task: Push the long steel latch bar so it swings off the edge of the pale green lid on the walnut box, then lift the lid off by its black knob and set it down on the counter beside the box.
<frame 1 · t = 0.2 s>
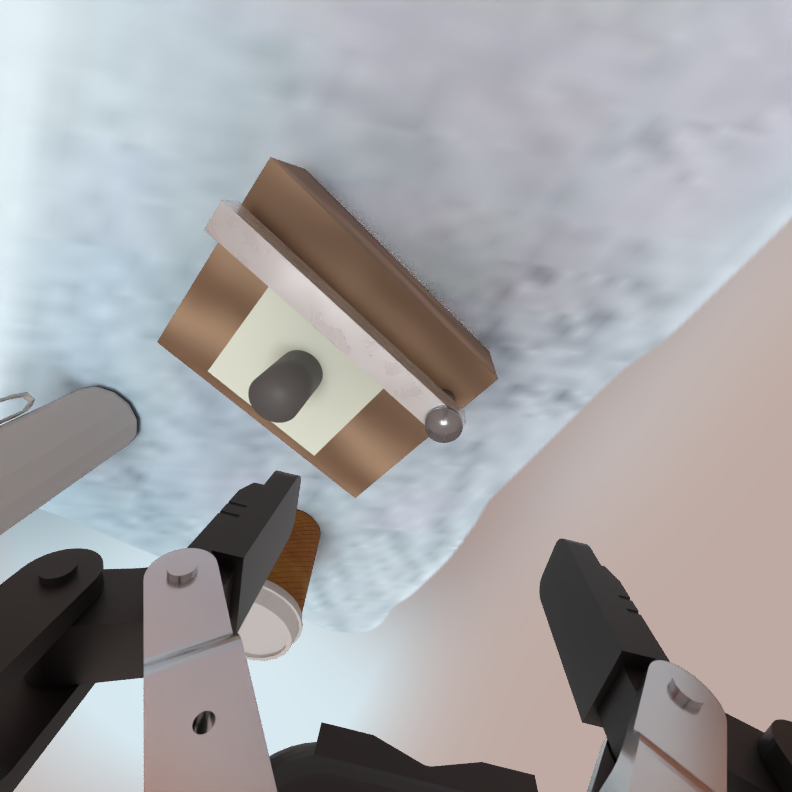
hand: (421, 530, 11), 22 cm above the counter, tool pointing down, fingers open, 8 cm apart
latch bar: (347, 331, 23), point 9 cm above the counter, hinge at 0.0°
water bottle: (105, 406, 40), on the counter
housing: (341, 336, 33), on the counter
lid: (307, 364, 28), point 6 cm above the counter, touching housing
disposable coffee cup: (295, 527, 44), on the counter
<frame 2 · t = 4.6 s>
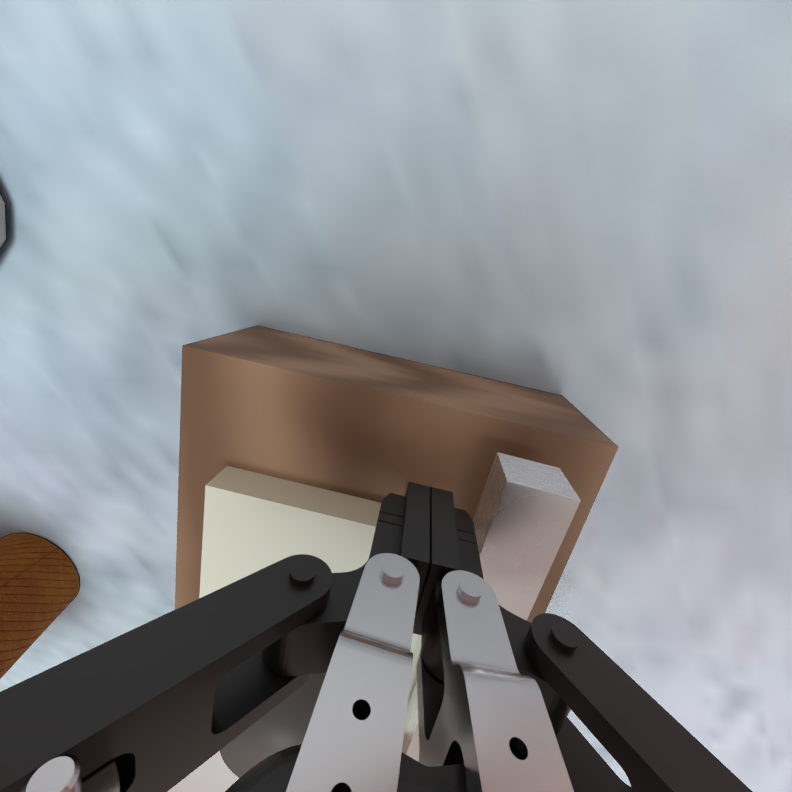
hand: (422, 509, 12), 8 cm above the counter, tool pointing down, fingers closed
latch bar: (447, 703, 14), point 9 cm above the counter, hinge at -1.0°, touching gripper
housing: (371, 521, 22), on the counter
lid: (329, 591, 16), point 6 cm above the counter, touching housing
disposable coffee cup: (40, 568, 26), on the counter
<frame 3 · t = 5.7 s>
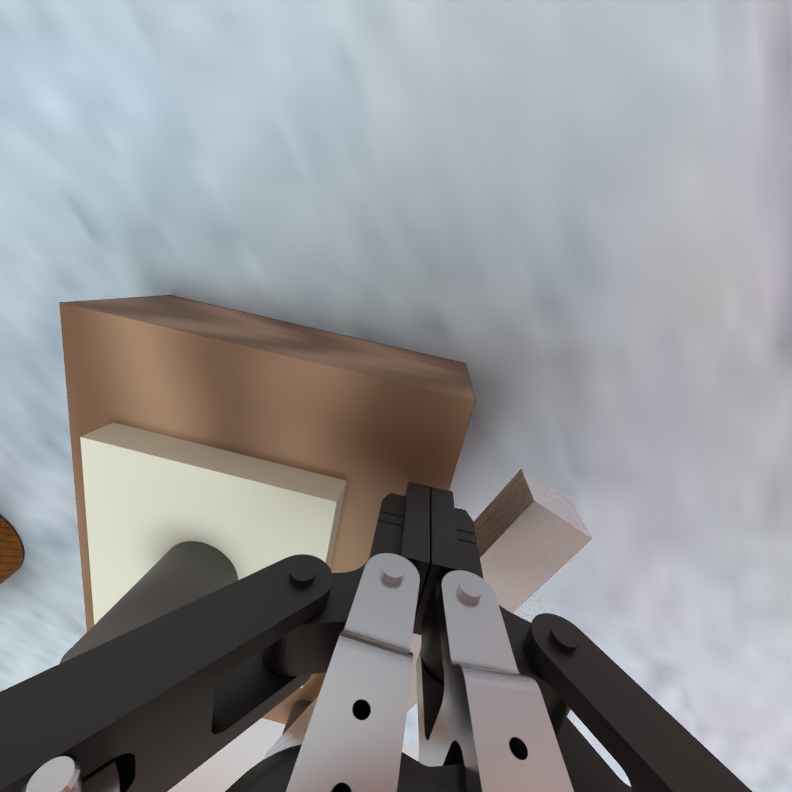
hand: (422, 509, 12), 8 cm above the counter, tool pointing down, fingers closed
latch bar: (383, 682, 14), point 9 cm above the counter, hinge at -21.1°, touching gripper
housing: (292, 491, 23), on the counter
lid: (221, 548, 17), point 6 cm above the counter, touching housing
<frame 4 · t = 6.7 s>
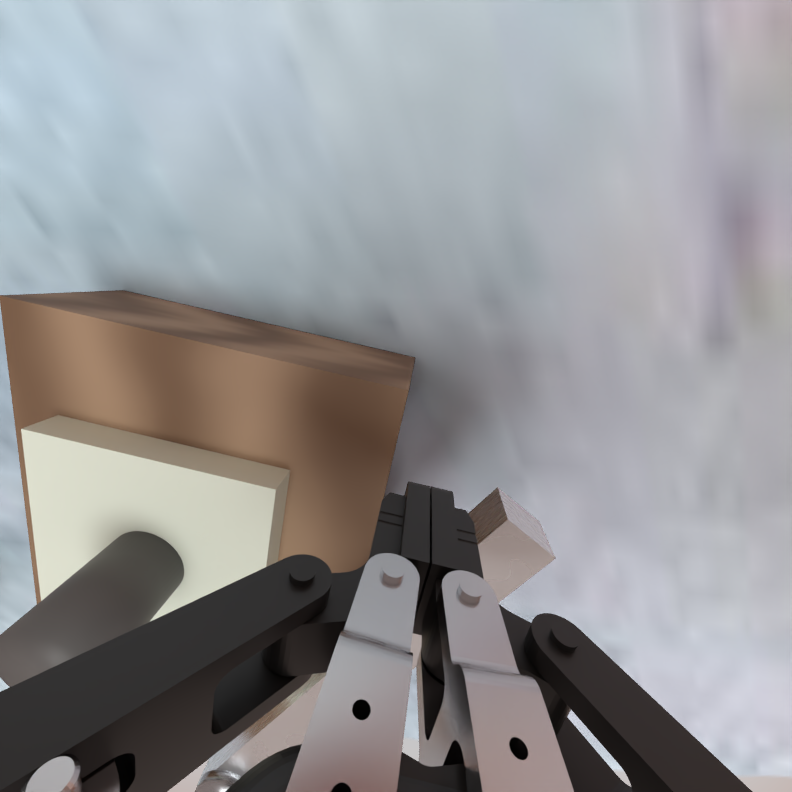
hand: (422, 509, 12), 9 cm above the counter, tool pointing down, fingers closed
latch bar: (345, 676, 15), point 9 cm above the counter, hinge at -27.8°, touching gripper
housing: (251, 484, 23), on the counter
lid: (171, 539, 17), point 6 cm above the counter, touching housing
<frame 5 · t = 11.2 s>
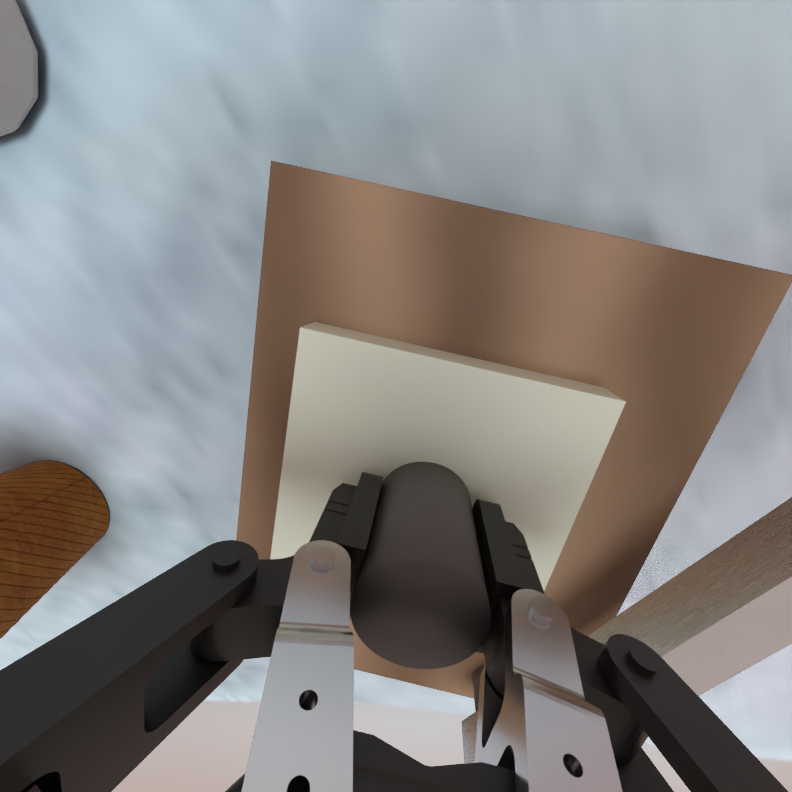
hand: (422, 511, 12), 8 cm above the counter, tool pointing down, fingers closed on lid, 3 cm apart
latch bar: (694, 639, 12), point 9 cm above the counter, hinge at -27.8°
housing: (441, 435, 20), on the counter
lid: (424, 481, 14), point 6 cm above the counter, touching gripper, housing
disposable coffee cup: (65, 502, 24), on the counter
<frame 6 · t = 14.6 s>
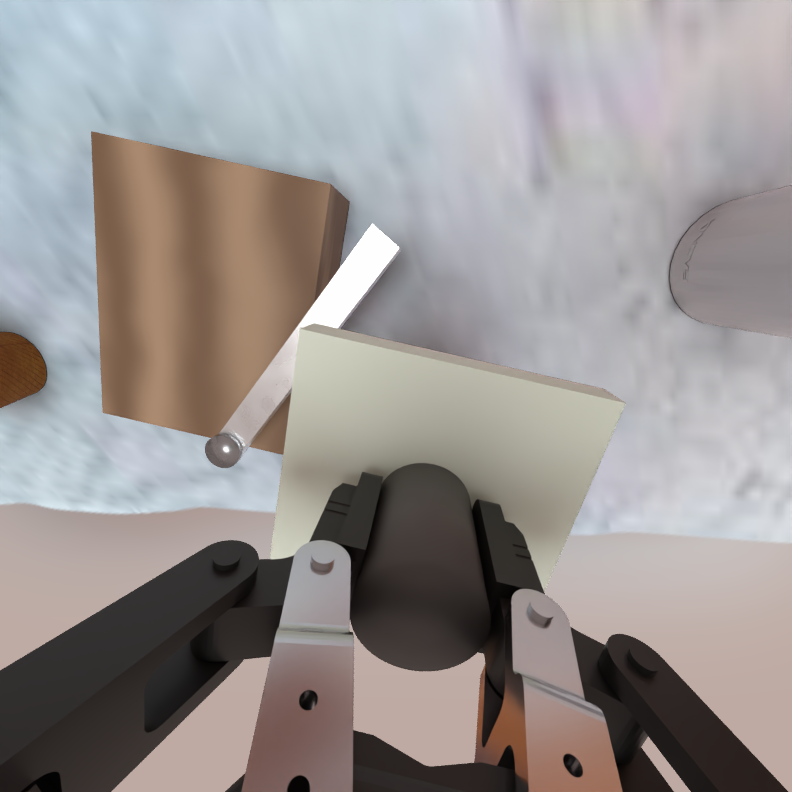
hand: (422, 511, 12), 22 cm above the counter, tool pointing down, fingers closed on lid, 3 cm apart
latch bar: (295, 358, 25), point 9 cm above the counter, hinge at -27.8°
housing: (242, 305, 33), on the counter
lid: (423, 482, 14), point 20 cm above the counter, touching gripper
disposable coffee cup: (18, 363, 37), on the counter
when the fingers open (4 cm above the counter, at t = 18.3 s): lid drops 2 cm, on the counter.
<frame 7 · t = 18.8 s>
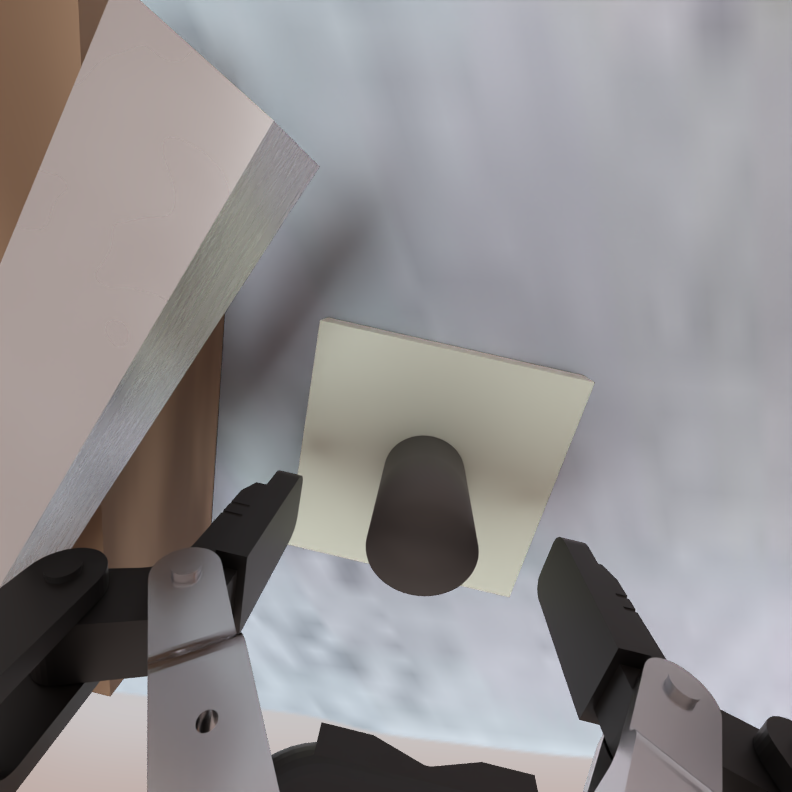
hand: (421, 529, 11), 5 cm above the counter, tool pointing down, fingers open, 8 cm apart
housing: (35, 336, 16), on the counter
lid: (424, 455, 16), on the counter
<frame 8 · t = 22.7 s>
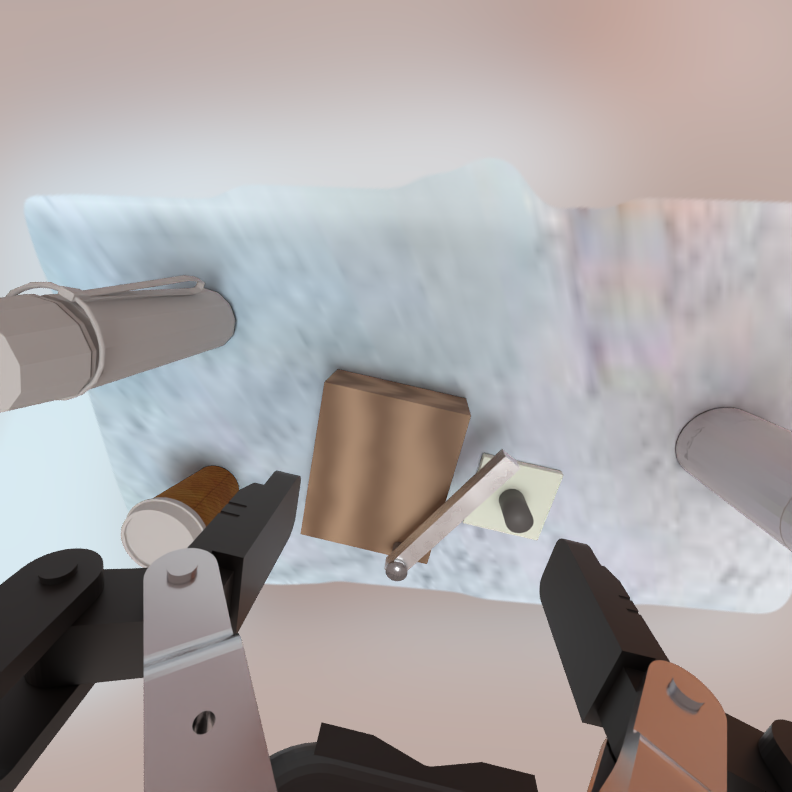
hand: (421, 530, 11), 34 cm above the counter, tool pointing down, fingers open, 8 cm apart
latch bar: (447, 519, 40), point 9 cm above the counter, hinge at -27.8°
water bottle: (213, 311, 45), on the counter
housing: (385, 455, 49), on the counter
lid: (509, 493, 49), on the counter
disposable coffee cup: (218, 484, 53), on the counter
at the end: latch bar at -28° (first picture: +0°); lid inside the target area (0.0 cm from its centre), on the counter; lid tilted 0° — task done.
